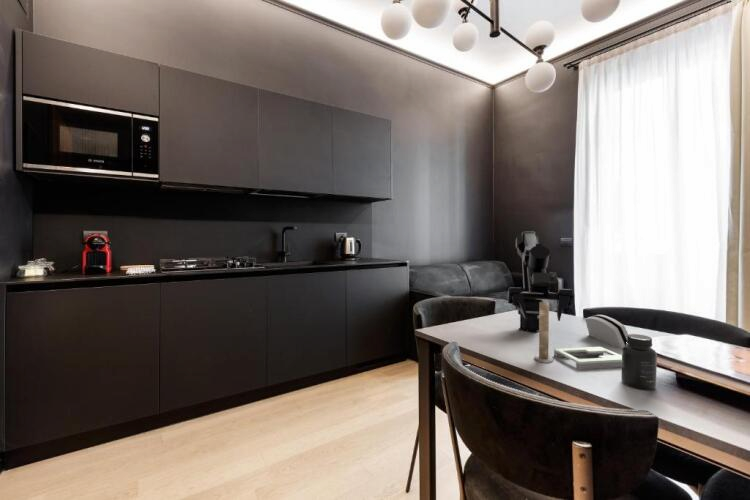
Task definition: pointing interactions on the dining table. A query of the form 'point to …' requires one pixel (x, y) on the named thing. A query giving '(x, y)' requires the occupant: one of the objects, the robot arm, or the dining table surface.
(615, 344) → the grey curved piece
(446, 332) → the dining table surface
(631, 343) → the supplement bottle
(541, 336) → the peg
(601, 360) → the keyhole board
